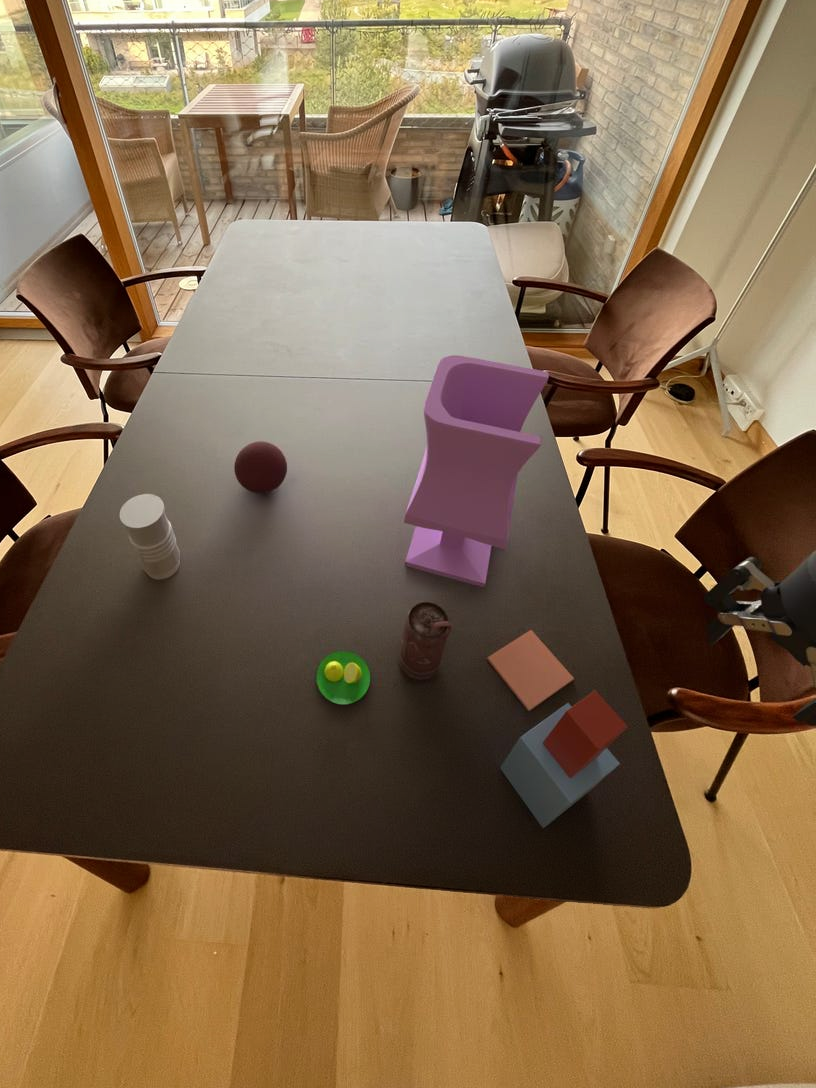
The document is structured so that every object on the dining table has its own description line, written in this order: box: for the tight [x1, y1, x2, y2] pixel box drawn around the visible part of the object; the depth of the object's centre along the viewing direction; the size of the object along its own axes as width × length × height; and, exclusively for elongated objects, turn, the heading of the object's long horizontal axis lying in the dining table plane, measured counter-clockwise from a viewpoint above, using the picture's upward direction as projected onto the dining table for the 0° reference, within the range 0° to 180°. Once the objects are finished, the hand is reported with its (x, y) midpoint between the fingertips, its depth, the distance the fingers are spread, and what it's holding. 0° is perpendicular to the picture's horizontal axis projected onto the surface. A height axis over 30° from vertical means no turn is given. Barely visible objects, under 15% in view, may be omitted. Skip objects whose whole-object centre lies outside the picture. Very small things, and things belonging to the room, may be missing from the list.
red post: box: [543, 690, 628, 778], centre depth 63 cm, size 4×4×10 cm
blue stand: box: [500, 702, 621, 829], centre depth 71 cm, size 8×8×12 cm
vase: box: [403, 354, 550, 588], centre depth 90 cm, size 16×16×35 cm
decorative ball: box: [233, 440, 288, 495], centre depth 109 cm, size 10×10×10 cm
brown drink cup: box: [397, 601, 453, 684], centre depth 82 cm, size 6×6×14 cm
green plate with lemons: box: [316, 650, 371, 705], centre depth 84 cm, size 8×8×3 cm
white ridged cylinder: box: [119, 493, 181, 580], centre depth 94 cm, size 7×7×15 cm
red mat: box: [486, 629, 575, 712], centre depth 86 cm, size 9×9×1 cm
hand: (755, 675), depth 54 cm, fingers open, 8 cm apart
